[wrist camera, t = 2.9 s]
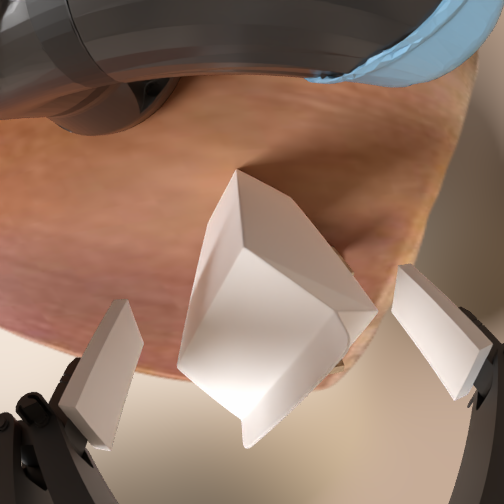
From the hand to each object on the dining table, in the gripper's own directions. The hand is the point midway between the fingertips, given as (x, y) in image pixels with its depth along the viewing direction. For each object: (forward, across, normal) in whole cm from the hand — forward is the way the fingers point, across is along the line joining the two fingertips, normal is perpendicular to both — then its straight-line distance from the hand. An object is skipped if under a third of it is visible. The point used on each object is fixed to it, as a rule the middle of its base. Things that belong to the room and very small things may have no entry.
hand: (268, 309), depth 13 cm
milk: (+16, 0, 0) cm, 16 cm away
